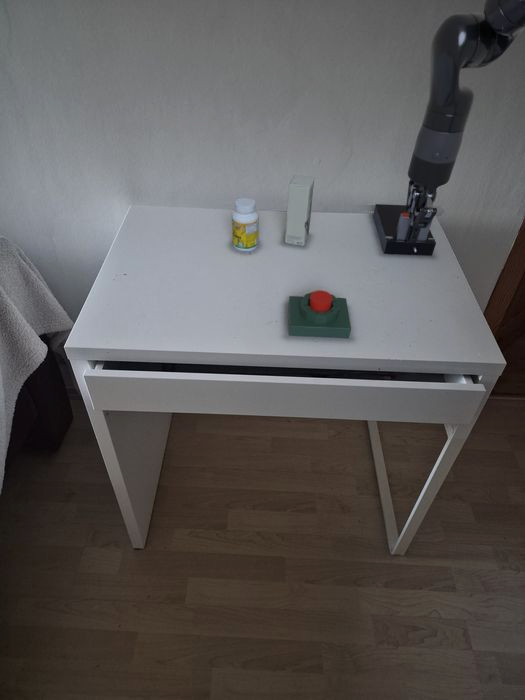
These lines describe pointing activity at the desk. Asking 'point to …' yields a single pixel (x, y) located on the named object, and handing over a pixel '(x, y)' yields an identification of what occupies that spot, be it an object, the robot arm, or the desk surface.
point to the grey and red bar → (404, 226)
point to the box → (299, 210)
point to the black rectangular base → (387, 227)
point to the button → (320, 301)
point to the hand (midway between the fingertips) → (409, 238)
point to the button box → (318, 318)
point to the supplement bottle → (245, 225)
